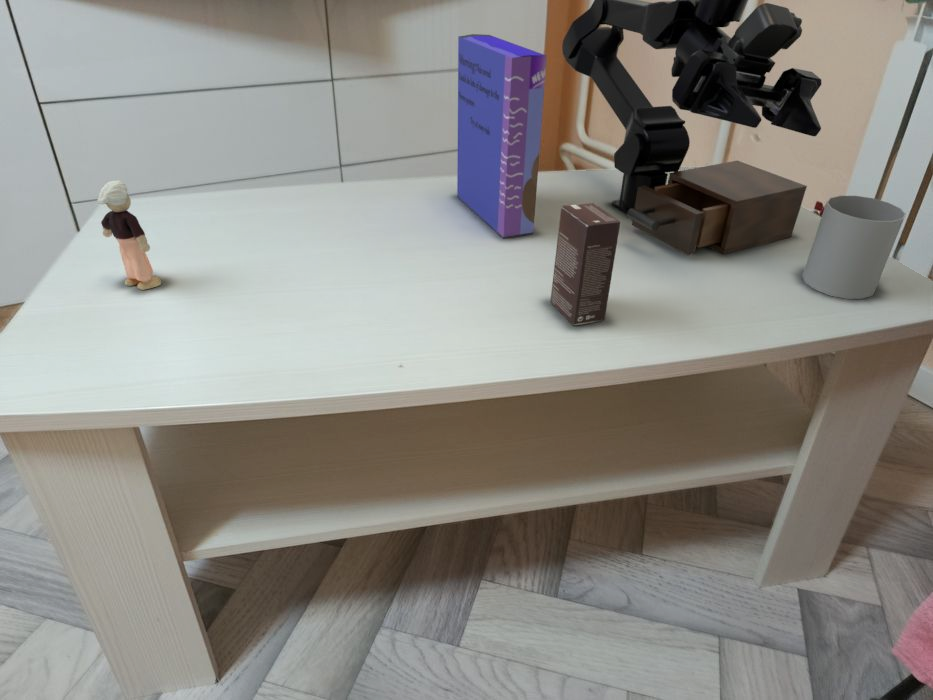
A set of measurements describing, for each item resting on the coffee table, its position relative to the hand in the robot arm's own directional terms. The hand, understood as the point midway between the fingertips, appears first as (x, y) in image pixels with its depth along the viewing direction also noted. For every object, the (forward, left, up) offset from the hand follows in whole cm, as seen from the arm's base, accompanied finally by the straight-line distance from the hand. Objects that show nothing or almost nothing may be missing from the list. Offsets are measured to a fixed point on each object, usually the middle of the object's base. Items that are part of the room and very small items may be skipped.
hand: (788, 128), depth 73 cm
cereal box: (-34, -17, -19) cm, 43 cm away
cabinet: (-14, +11, -19) cm, 26 cm away
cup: (+5, +11, -19) cm, 23 cm away
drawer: (-14, +2, -18) cm, 23 cm away
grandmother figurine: (-34, -67, -19) cm, 78 cm away
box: (-4, -23, -19) cm, 31 cm away
